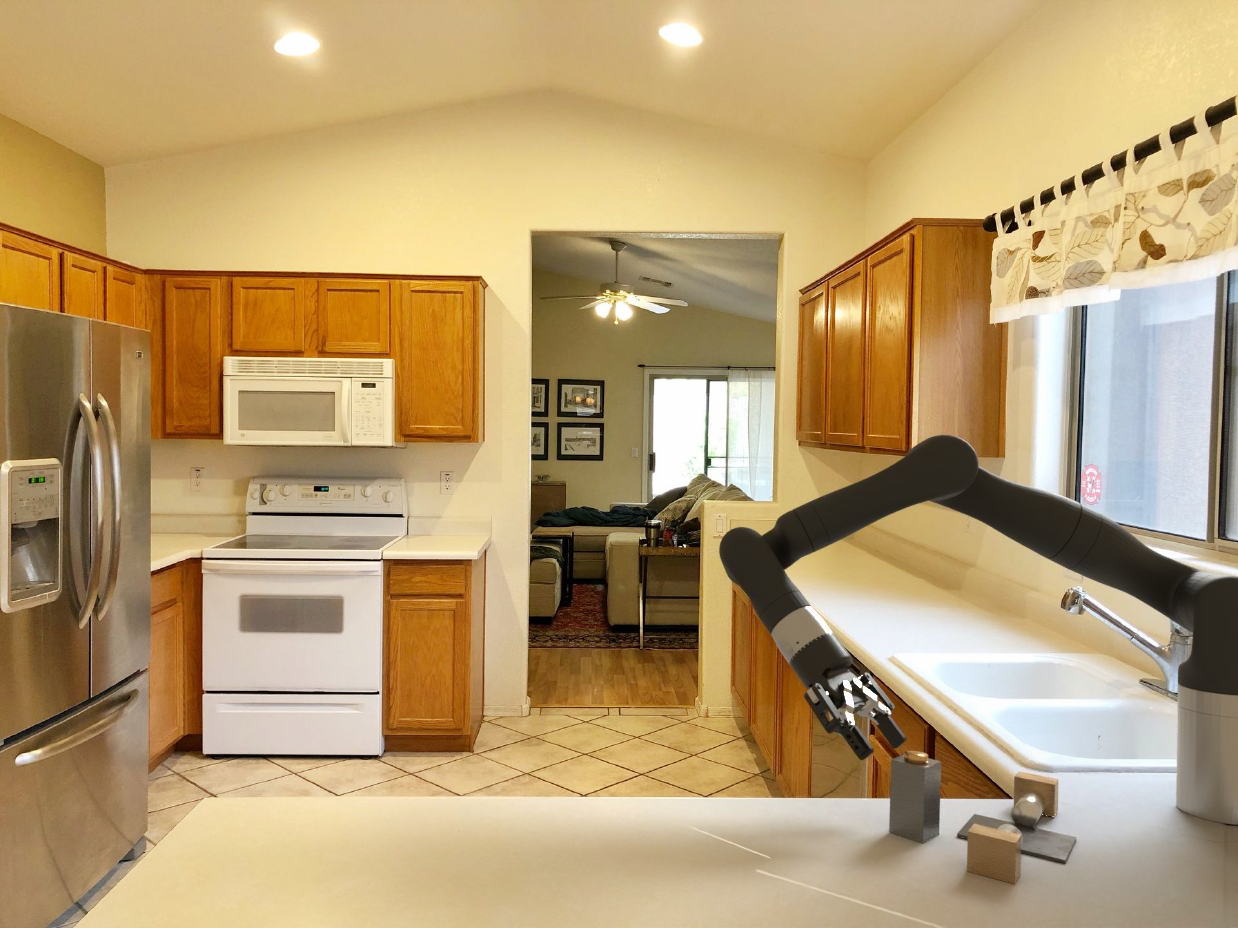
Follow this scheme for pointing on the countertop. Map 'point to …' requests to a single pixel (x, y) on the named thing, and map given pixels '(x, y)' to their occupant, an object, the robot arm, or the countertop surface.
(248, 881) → the countertop surface
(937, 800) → the gold-capped grey pillar
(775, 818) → the countertop surface
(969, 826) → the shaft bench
